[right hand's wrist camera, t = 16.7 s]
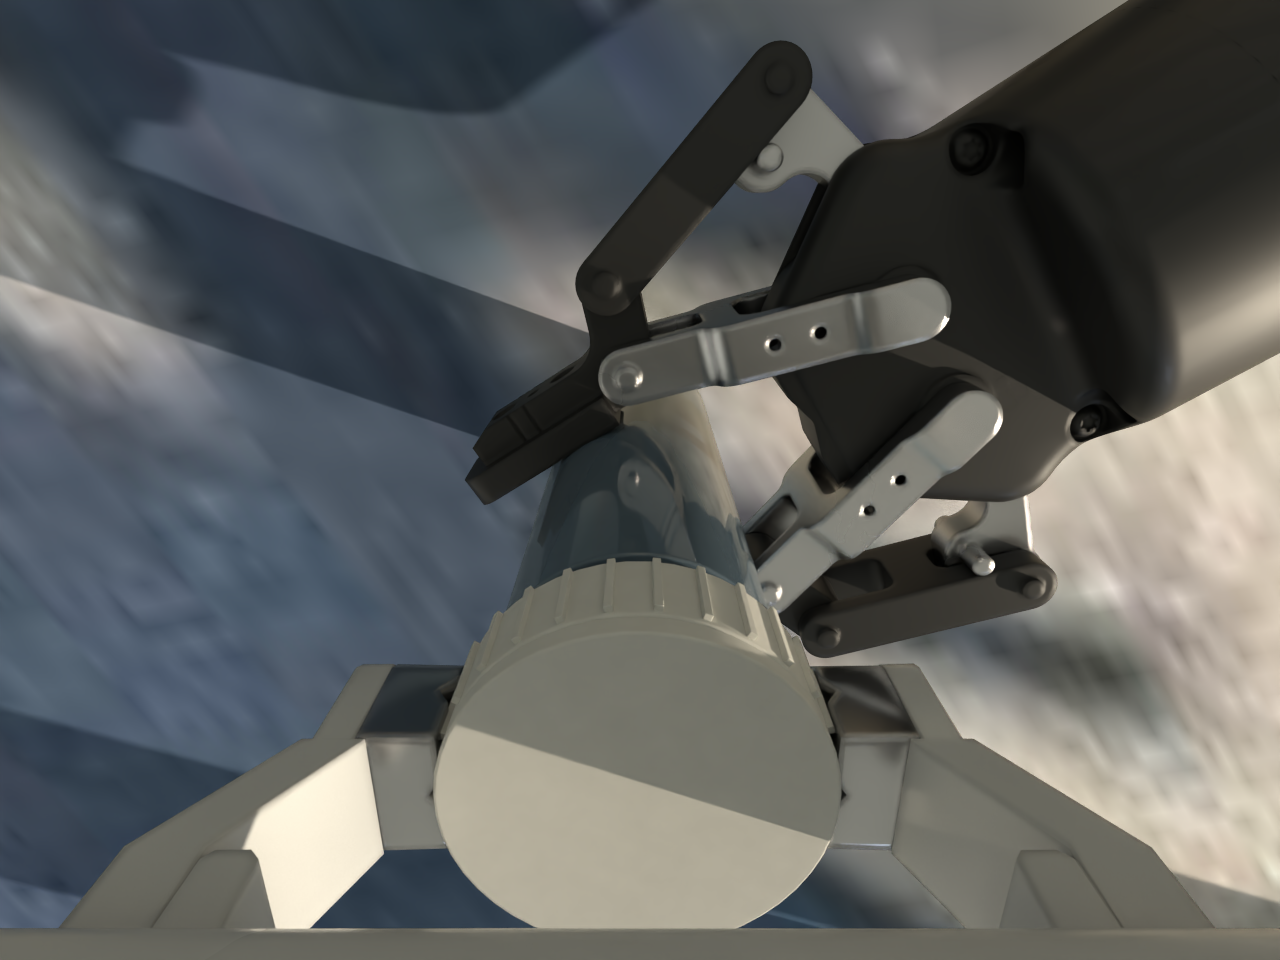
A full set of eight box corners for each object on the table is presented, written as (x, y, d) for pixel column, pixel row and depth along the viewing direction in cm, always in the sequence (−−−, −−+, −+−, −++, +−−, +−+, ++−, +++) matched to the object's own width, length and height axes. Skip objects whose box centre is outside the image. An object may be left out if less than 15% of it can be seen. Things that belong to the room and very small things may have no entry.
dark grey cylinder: (734, 431, 24) (871, 770, 10) (630, 512, 25) (620, 923, 11) (646, 326, 22) (658, 541, 8) (541, 416, 23) (398, 739, 10)
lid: (512, 503, 9) (486, 570, 8) (876, 616, 10) (923, 698, 8) (422, 798, 11) (385, 902, 9) (737, 878, 12) (753, 988, 10)
